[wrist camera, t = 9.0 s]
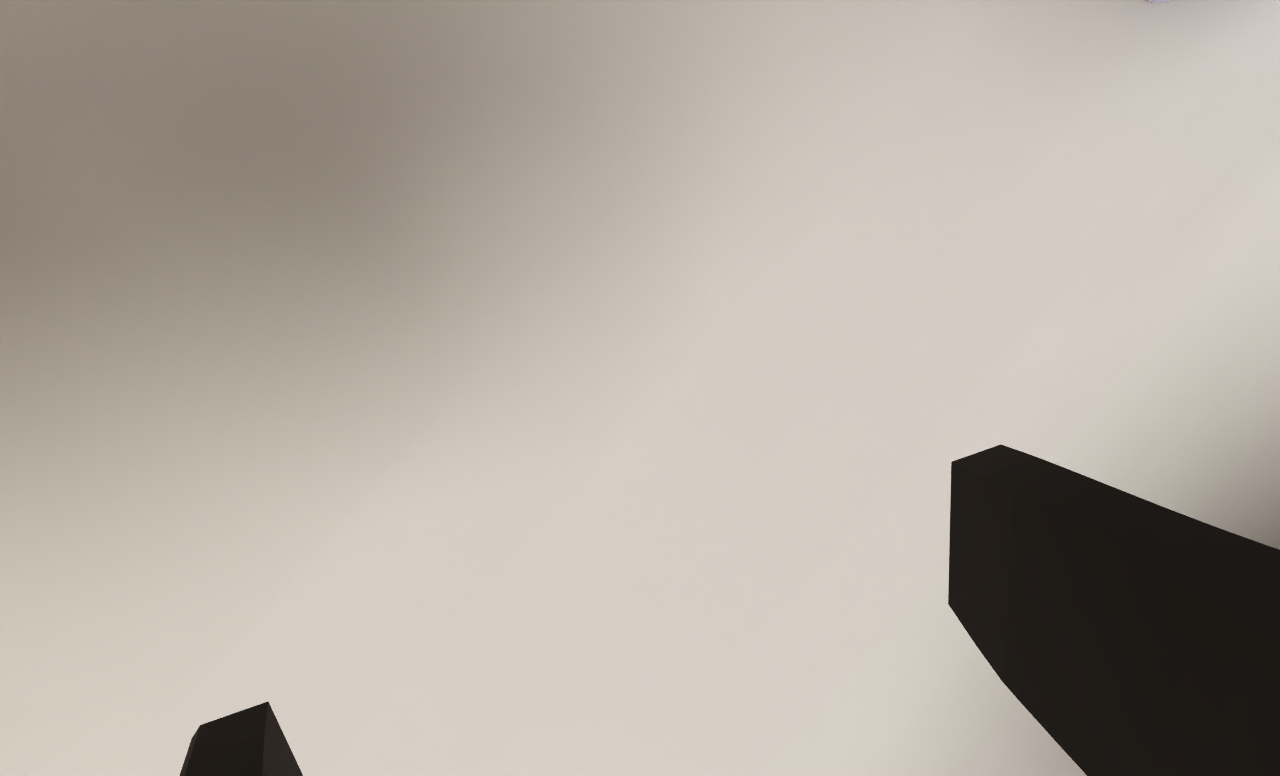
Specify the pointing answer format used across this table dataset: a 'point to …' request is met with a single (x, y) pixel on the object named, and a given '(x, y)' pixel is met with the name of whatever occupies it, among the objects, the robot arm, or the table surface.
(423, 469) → the table surface
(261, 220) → the table surface
